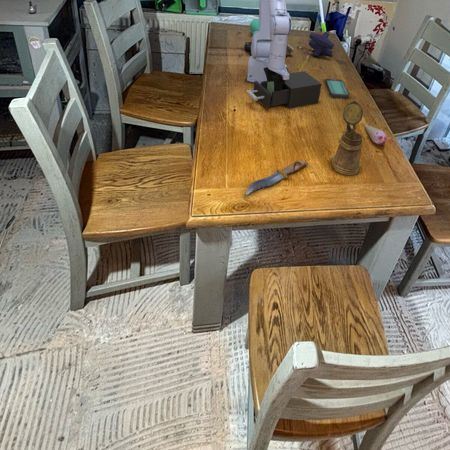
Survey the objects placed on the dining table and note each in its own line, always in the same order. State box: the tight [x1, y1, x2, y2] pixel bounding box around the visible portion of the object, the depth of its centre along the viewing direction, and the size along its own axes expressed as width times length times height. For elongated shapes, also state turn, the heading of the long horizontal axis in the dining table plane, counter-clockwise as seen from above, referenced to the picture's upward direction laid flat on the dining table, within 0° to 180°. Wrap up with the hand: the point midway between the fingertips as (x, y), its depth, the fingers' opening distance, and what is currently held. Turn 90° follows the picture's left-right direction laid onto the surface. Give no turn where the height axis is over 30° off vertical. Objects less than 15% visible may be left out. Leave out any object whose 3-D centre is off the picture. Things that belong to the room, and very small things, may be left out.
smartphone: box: [325, 78, 350, 99], centre depth 165 cm, size 7×1×15 cm
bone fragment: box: [286, 43, 294, 56], centre depth 186 cm, size 14×6×5 cm, turn 21°
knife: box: [245, 159, 309, 196], centre depth 116 cm, size 25×1×5 cm
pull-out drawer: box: [246, 81, 290, 110], centre depth 146 cm, size 17×10×6 cm, turn 123°
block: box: [267, 81, 282, 97], centre depth 146 cm, size 4×4×4 cm
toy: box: [249, 18, 265, 41], centre depth 193 cm, size 9×8×15 cm
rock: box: [243, 40, 252, 53], centre depth 181 cm, size 13×4×10 cm
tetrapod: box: [308, 31, 335, 58], centre depth 187 cm, size 11×12×11 cm
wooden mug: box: [331, 100, 364, 176], centre depth 121 cm, size 9×14×18 cm, turn 1°
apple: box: [316, 26, 324, 35], centre depth 193 cm, size 7×7×10 cm
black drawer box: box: [284, 70, 322, 109], centre depth 152 cm, size 14×12×8 cm
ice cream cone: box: [364, 124, 387, 146], centre depth 140 cm, size 5×5×15 cm
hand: (274, 90), depth 146 cm, fingers closed on block, 4 cm apart
